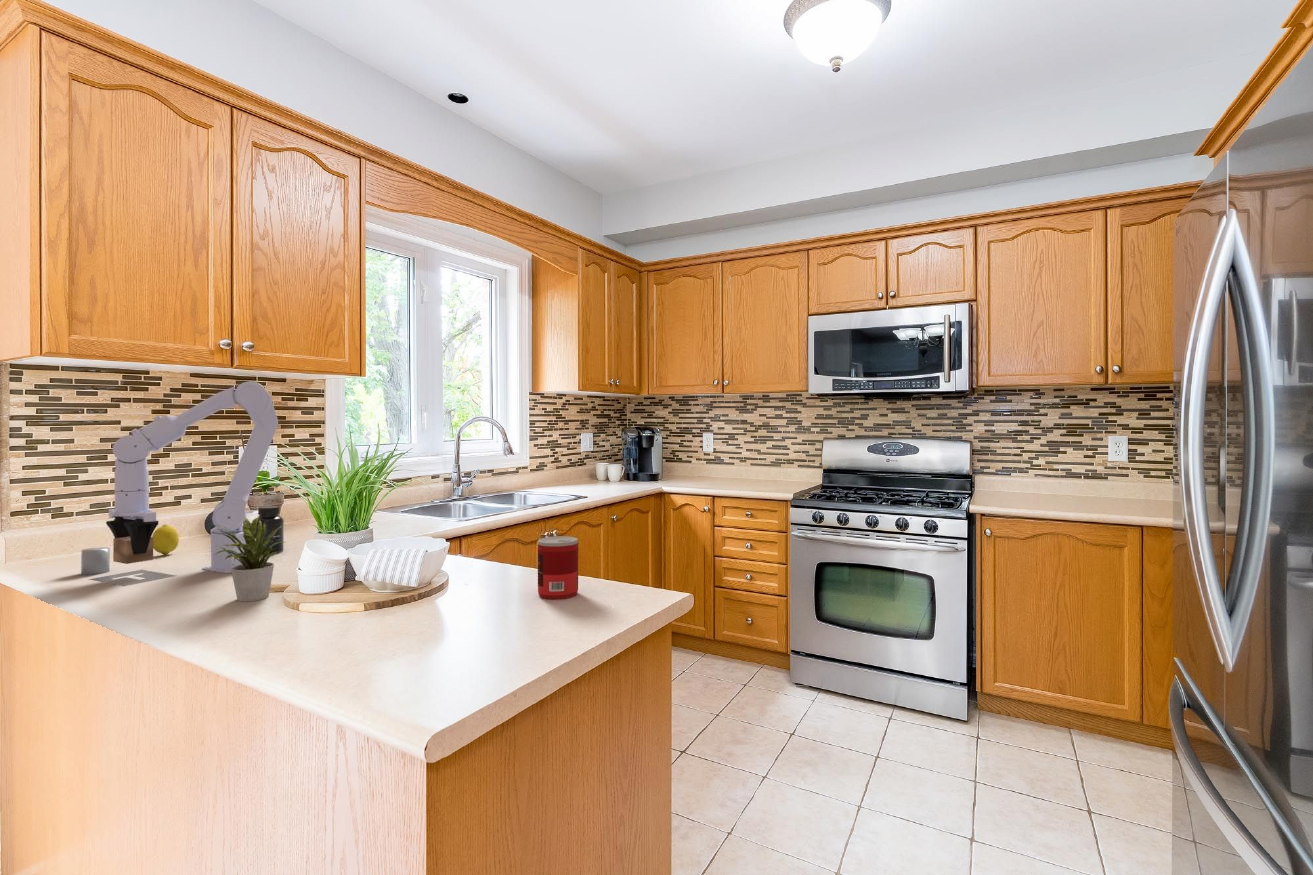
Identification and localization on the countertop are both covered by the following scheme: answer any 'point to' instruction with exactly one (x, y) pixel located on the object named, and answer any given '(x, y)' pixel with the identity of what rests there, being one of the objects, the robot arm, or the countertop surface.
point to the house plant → (251, 562)
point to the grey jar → (95, 561)
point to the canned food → (557, 567)
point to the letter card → (132, 577)
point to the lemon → (165, 539)
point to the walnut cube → (129, 551)
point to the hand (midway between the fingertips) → (132, 552)
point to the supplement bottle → (272, 527)
